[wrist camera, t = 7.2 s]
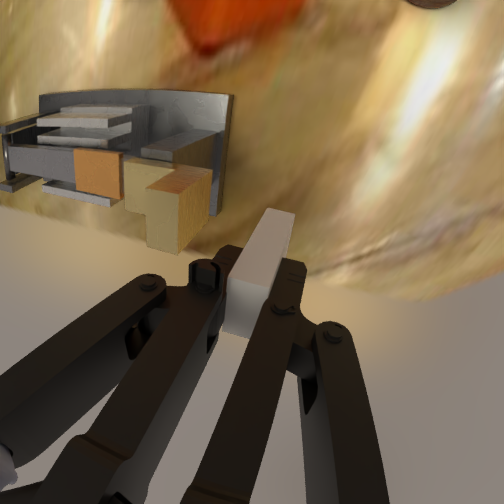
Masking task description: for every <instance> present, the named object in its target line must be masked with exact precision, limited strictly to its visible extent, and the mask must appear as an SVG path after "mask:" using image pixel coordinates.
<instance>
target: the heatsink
mask: <svg viewBox="0 0 504 504" xmlns="http://www.w3.org/2000/svg"><path fill="white" fill-rule="evenodd" d="M233 97H234V95H231V94H222V93H211V92H200V91H185V90H165V89H101V90H82V91H69V92H58V93H48V94H43V95H39V113H36V114H32V115H29V116H25V117H22V118H19V119H15V120H12V121H9V122H6V123H3V124H0V133H2V135H4V134H8V133H11V137H12V145H13V144H26V145H40V146H52V147H63V148H73V149H75V148H78V147H80V148H90V149H99V150H107V151H115V152H123V154H124V155H131V156H138V157H140V158H142V159H149V160H156V161H163V162H169V163H176V164H182V165H188V166H194V167H200V168H205V169H211V170H213V172H212V183H211V195H210V208H209V215H211V216H215V217H216V216H217V215H218V214H219V213H220V211H221V205H222V195H223V185H224V175H225V166H226V156H227V147H228V138H229V130H230V121H231V113H232V105H233ZM18 173H20V172H15V174H18ZM41 178H43V179H44V181H48V182H47V183H45V184H43V185H42V191H43V192H45V193H50V194H54V195H58V196H63V197H67V198H72V199H76V200H80V201H85V202H89V203H93V204H98V205H102V206H106V207H112V206H113V205H115V204H116V203H118V202H119V201H121V200H123V199H124V198H125V194H124V197H123V198H122V199H120V200H119V199H115V198H111V197H106V196H102V195H97V194H93V193H88V192H84V191H80V190H76V183H71V182H66V181H61V180H56V179H51V178H46V177H41V176H36V175H31V174H25V173H20V174H18V175H16V176H15V178H14V179H12V180H5V181H3V182H1V183H0V190H3V191H7V192H10V193H14V192H16V191H17V190H19V189H21V188H23V187H25V186H27V185H29V184H31V183H33V182H35V181H37V180H39V179H41Z"/></svg>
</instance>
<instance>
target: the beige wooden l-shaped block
mask: <svg viewBox="0 0 504 504" xmlns="http://www.w3.org/2000/svg"><path fill="white" fill-rule="evenodd" d="M212 172H213V170H211V169H205V168H200V167H194V166H188V165H182V164H176V163H169V162H163V161H156V160H149V159H142V158H135V157H133V158H131V159H129V160H127V161H124V193H125V210H126V211H131V212H135V213H139V214H143V215H146V239H147V247H150V248H154V249H157V250H160V251H164V252H168V253H171V254H175V255H178V254H179V253H180V252H181V251H182V250H183V249H184V247H185V246H186V245H187V244H188V243H189V242H190V241H191V240H192V238H193V237H194V236H195V235H196V234H197V233H198V232H199V231H200V230H201V228H202V227H203V226H204V225H205V224H206V223H207V222H208V221H209V208H210V195H211V183H212Z"/></svg>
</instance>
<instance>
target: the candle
mask: <svg viewBox="0 0 504 504" xmlns="http://www.w3.org/2000/svg"><path fill="white" fill-rule="evenodd" d="M408 1H410V2H412V3H413V4H415V5H419V6H423V7H426V8H441V7H444V6H447V5H450V4H452V3H454V2H455V1H457V0H408Z"/></svg>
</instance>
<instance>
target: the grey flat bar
mask: <svg viewBox="0 0 504 504" xmlns="http://www.w3.org/2000/svg"><path fill="white" fill-rule="evenodd" d="M2 145H3V155H4V164H5V172H6V179H7V180H12V179H14V178H15V172H20V173H25V174H31V175H36V176H41V177H46V178H51V179H56V180H61V181H66V182H71V183H76V190H80V191H84V192H88V193H93V194H97V195H102V196H106V197H111V198H115V199H119V200H120V199H122V198H123V197H124V194H125V193H124V161H127V160H129V159H131V158H133V157H135V158H140V157H138V156H131V155H124V154H123V152H115V151H107V150H99V149H90V148H80V147H78V148H75V149H73V148H63V147H52V146H40V145H26V144H13V145H12V137H11V133H8V134H4V135H2Z"/></svg>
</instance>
